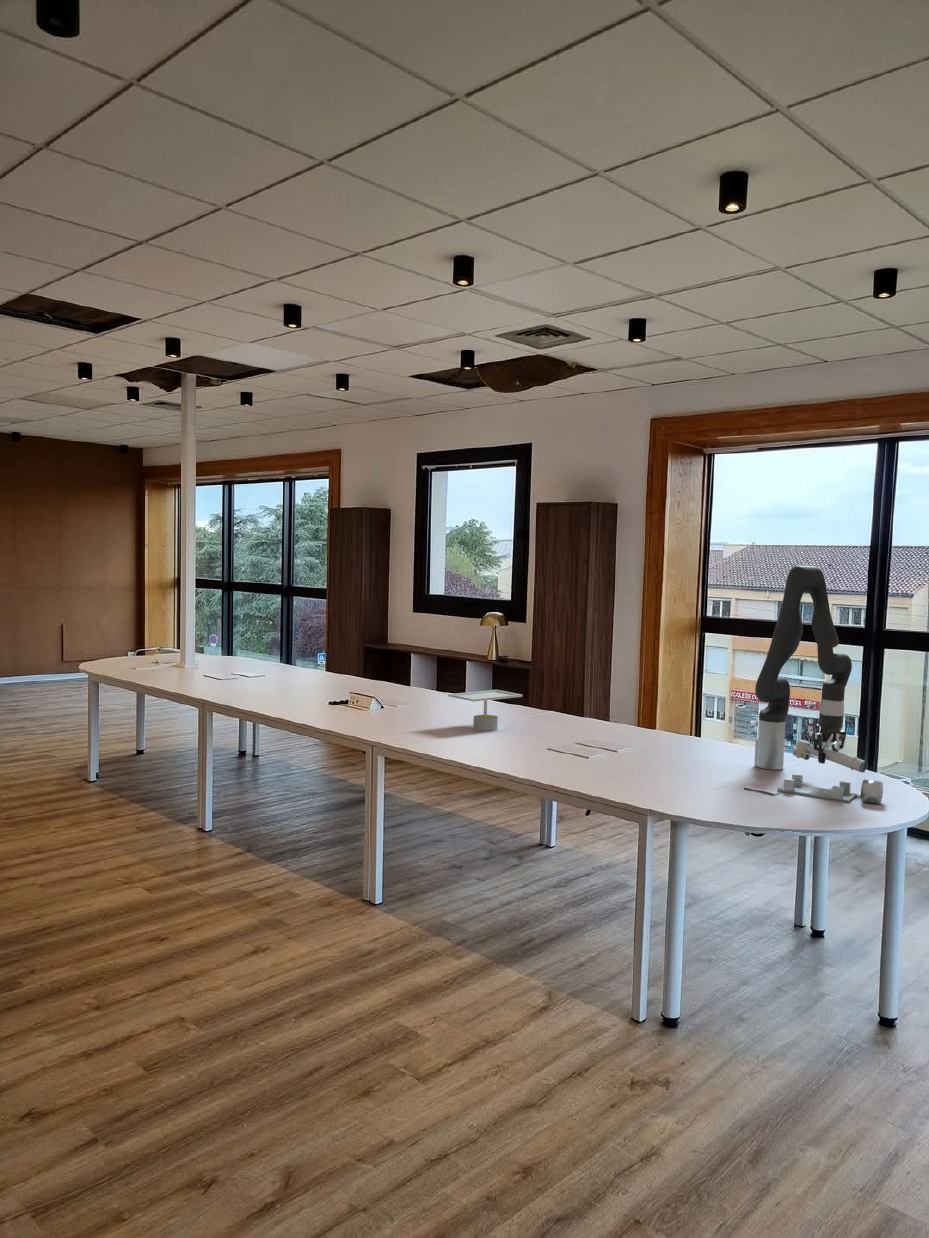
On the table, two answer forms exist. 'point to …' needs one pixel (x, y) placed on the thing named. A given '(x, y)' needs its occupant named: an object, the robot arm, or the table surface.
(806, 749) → the white handheld massager
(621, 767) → the table surface
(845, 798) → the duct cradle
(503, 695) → the grey flat rectangular-topped stand
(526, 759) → the table surface
